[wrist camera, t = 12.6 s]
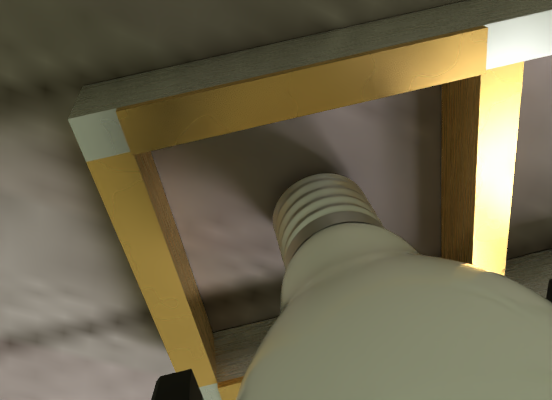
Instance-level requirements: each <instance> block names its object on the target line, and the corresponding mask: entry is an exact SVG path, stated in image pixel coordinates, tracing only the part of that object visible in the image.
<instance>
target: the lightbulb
mask: <svg viewBox="0 0 552 400" xmlns="http://www.w3.org/2000/svg"><path fill="white" fill-rule="evenodd" d="M273 228H274V231H275V234H276V238H277V241H278V245H279V249H280V251H281V256H282V259H283V262H284V266H285V270H286V272H285V275H284V278H283V282H282V288H281V309H280V315H279V316H278V317H277V319H276V320H275V322H274V323H273V324H272V326H271V327H270V329H269V330H268V332H267V333H266V335H265V336H264V338H263V340H262V341H261V343H260V345H259V346H258V348H257V350H256V352H255V353H254V355H253V357H252V359H251V361H250V363H249V366H248V368H247V370H246V372H245V375H244V377H243V380H242V382H241V385H240V388H239V391H238V394H237V397H236V400H552V302H550V301H549V300H547V299H546V298H545V297H543V296H542V295H540V294H538V293H537V292H535V291H533V290H532V289H530V288H528V287H526V286H524V285H523V284H521V283H519V282H517V281H515V280H512V279H510V278H508V277H506V276H503V275H501V274H499V273H496V272H494V271H491V270H488V269H485V268H482V267H479V266H475V265H472V264H468V263H464V262H460V261H456V260H451V259H446V258H440V257H434V256H427V255H421V254H420V253H419V252H417V251H416V250H415V249H414V248H413V247H412V246H411V245H410V244H409V243H407V242H406V241H405V240H404V239H402V238H401V237H399V236H398V235H396V234H395V233H393V232H391V231H389V230H387V229H385V228H384V226H383V225H382V223H381V221H380V219H379V218H378V217H377V215H376V213H375V211H374V210H373V209H372V206H371V204H370V203H369V201H368V200H367V198H366V196H365V195H364V193H363V192H362V190H361V189H360V187H359V186H358V185H357V184H356V183H355V182H353V181H352V180H350V179H349V178H347V177H344V176H341V175H337V174H331V173H323V174H316V175H312V176H309V177H306V178H303V179H301V180H299V181H298V182H296V183H294V184H293V185H292V186H290V187H289V188H288V189H287V190H286V191H285V192H284V193H283V195H282V196H281V197H280V199H279V200H278V202H277V204H276V207H275V209H274V213H273Z"/></svg>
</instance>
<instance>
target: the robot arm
mask: <svg viewBox="0 0 552 400" xmlns="http://www.w3.org/2000/svg"><path fill="white" fill-rule="evenodd" d="M546 299H547V300H549V301H550V302H552V279H549V282H548V289H547V295H546ZM151 400H204V399H203V396H202V394H201V391H200V389H199V386H198V383H197V381H196V378H195V376H194V373H193V371H192V369H188V370H184V371H180V372H176V373H172V374H168V375H164V376H160V378H159V379H158V380H157V381H156V385H155V389H154V392H153V396H152V399H151Z"/></svg>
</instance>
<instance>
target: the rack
mask: <svg viewBox="0 0 552 400" xmlns="http://www.w3.org/2000/svg"><path fill="white" fill-rule="evenodd" d="M549 55H552V0H467V1H463V2H458V3H454V4H449V5H445V6H440V7H436V8H431V9H427V10H422V11H418V12H413V13H409V14H404V15H400V16H395V17H391V18H387V19H382V20H378V21H373V22H369V23H364V24H360V25H355V26H351V27H346V28H342V29H337V30H333V31H328V32H324V33H319V34H315V35H310V36H306V37H301V38H297V39H292V40H288V41H284V42H279V43H275V44H270V45H266V46H261V47H257V48H252V49H248V50H243V51H239V52H234V53H230V54H225V55H221V56H216V57H212V58H207V59H203V60H198V61H194V62H189V63H185V64H181V65H176V66H172V67H167V68H163V69H158V70H154V71H149V72H145V73H140V74H136V75H131V76H127V77H122V78H118V79H113V80H109V81H104V82H100V83H95V84H91V85H87V86H83V87H82V89H81V91H80V94H79V96H78V98H77V100H76V102H75V104H74V107H73V109H72V111H71V113H70V115H69V118H68V121H69V123H70V126H71V128H72V130H73V133H74V135H75V137H76V140H77V142H78V144H79V147H80V149H81V151H82V154H83V156H84V158H85V161H86V163H87V165H88V168H89V170H90V172H91V175H92V177H93V179H94V182H95V184H96V186H97V189H98V191H99V193H100V196H101V198H102V200H103V203H104V205H105V208H106V210H107V212H108V215H109V217H110V219H111V222H112V224H113V226H114V229H115V231H116V233H117V236H118V238H119V240H120V243H121V245H122V247H123V250H124V252H125V254H126V257H127V259H128V261H129V264H130V266H131V268H132V271H133V273H134V275H135V278H136V280H137V282H138V285H139V287H140V289H141V292H142V294H143V296H144V299H145V301H146V303H147V306H148V308H149V311H150V313H151V315H152V318H153V320H154V322H155V325H156V327H157V329H158V332H159V334H160V336H161V339H162V341H163V343H164V346H165V348H166V350H167V353H168V355H169V357H170V360H171V362H172V364H173V367H174V369H175V371H176V372H180V371H184V370H188V369H192V371H193V373H194V376H195V378H196V381H197V383H198V386H199V389H200V391H201V394H202V396H203V399H204V400H236V397H237V394H238V391H239V388H240V385H241V382H242V380H243V377H244V375H245V372H246V370H247V368H248V366H249V363H250V361H251V359H252V357H253V355H254V353H255V352H256V350H257V348H258V346H259V345H260V343H261V341H262V340H263V338H264V336H265V335H266V333H267V332H268V330H269V329H270V327H271V326H272V324H273V323H274V322H275V320H276V319H277V317H276V318H272V319H268V320H264V321H260V322H256V323H252V324H248V325H244V326H240V327H236V328H232V329H227V330H223V331H219V332H215V333H213V331H212V328H211V325H210V323H209V320H208V317H207V314H206V311H205V308H204V305H203V302H202V299H201V296H200V294H199V291H198V288H197V285H196V282H195V279H194V276H193V273H192V270H191V267H190V265H189V262H188V259H187V256H186V253H185V250H184V247H183V244H182V241H181V238H180V235H179V233H178V230H177V227H176V224H175V221H174V218H173V215H172V212H171V209H170V206H169V204H168V201H167V198H166V195H165V192H164V189H163V186H162V183H161V180H160V177H159V175H158V172H157V169H156V166H155V163H154V160H153V157H152V154H151V151H153V150H158V149H162V148H166V147H171V146H175V145H179V144H184V143H188V142H192V141H197V140H201V139H205V138H210V137H214V136H218V135H223V134H227V133H231V132H236V131H240V130H244V129H249V128H253V127H257V126H262V125H266V124H270V123H275V122H279V121H283V120H288V119H292V118H296V117H301V116H305V115H309V114H314V113H318V112H322V111H327V110H331V109H335V108H340V107H344V106H348V105H353V104H357V103H361V102H366V101H370V100H374V99H379V98H383V97H387V96H392V95H396V94H400V93H405V92H409V91H413V90H418V89H422V88H426V87H431V86H435V85H439V84H442V162H441V258H446V259H451V260H456V261H460V262H464V263H468V264H472V265H475V266H479V267H482V268H485V269H488V270H491V271H494V272H496V273H499V274H501V275H503V276H506V277H508V278H510V279H512V280H515V281H517V282H519V283H521V284H523V285H524V286H526V287H528V288H530V289H532V290H533V291H535V292H537V293H538V294H540V295H542V296H543V297H545V298H546V295H547V289H548V282H549V279H552V249H550V250H546V251H542V252H538V253H533V254H529V255H525V256H521V257H517V258H513V259H509V260H506V254H507V243H508V232H509V222H510V211H511V200H512V189H513V178H514V167H515V156H516V145H517V135H518V124H519V113H520V102H521V91H522V80H523V69H524V61H527V60H531V59H535V58H540V57H544V56H549Z"/></svg>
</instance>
